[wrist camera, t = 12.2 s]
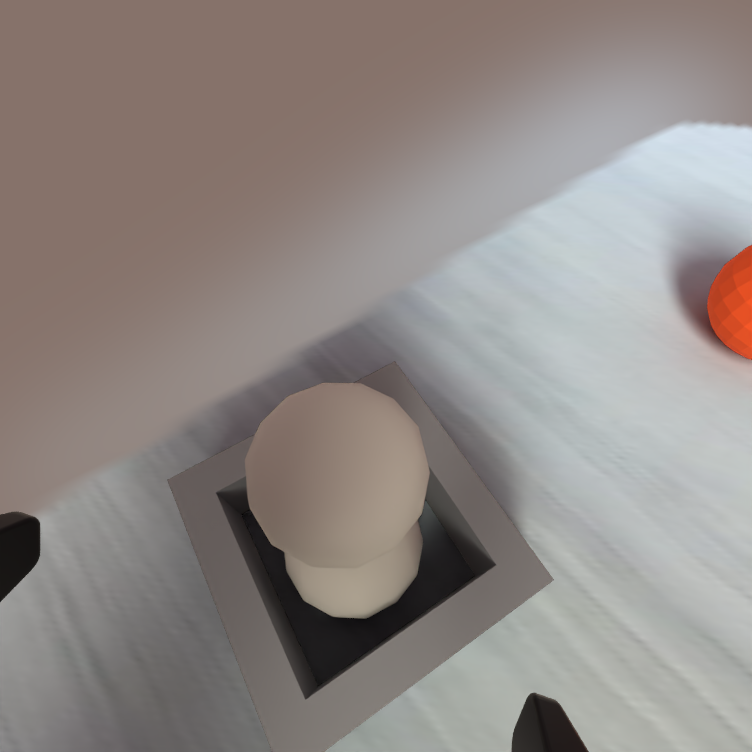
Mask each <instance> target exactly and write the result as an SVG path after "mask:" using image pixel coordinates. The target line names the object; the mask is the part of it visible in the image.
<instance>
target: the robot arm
mask: <svg viewBox="0 0 752 752" xmlns="http://www.w3.org/2000/svg"><path fill="white" fill-rule="evenodd" d="M39 557H40V522H39V520H38V519H37V518H36V517H33V516H30V515H27V514H25V513H22V512H10V513H6V514H1V515H0V602H1V601H2V600H3V599H4V598H5V597H6V596H7V595H8V594H9V593H10V592H11V590H12V589H13V588H14V587H15V586H16V585H17V584H18V583H19V582H20V581H21V580H22V579H23V578H24V577H25V576H26V575H27V574H28V573H29V572H30V571H31V570H32V569H33V568H34V566H35V565H36V563H37V562H38V560H39ZM512 752H589V751H588V750H587V748H586V746H585V745H584V743H583V741H582V740H581V738H580V736H579V735H578V733H577V731H576V730H575V728H574V727H573V725H572V723H571V722H570V720H569V718H568V717H567V715H566V713H565V712H564V710H563V708H562V707H561V705H560V704H559V703H558V702H557V701H556V700H554V699H551V698H548V697H545V696H543V695H540V694H537V693H531V694H530V695H529V696H528V697H527V699H526V702H525V704H524V707H523V709H522V711H521V714H520V716H519V719H518V721H517V723H516V726H515V729H514V732H513V738H512Z"/></svg>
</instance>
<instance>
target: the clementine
mask: <svg viewBox="0 0 752 752" xmlns="http://www.w3.org/2000/svg"><path fill="white" fill-rule="evenodd" d="M707 310H708V315H709V319H710V323H711V326H712V328H713V330H714V332H715V333H716V335H717V336H718V337H719V339H720V340H721V341H722V342H723V343H724V344H725V345H726V346H728V347H729V348H730V349H732V350H733V351H734V352H736V353H738V354H740V355H742V356H744V357H746V358H748V359H751V360H752V245H751V246H748V247H747V248H745V249H744V250H743V251H742V252H740V253H739V254H738V255H736V256H735V257H734V258H733V259H731V260H730V261H729V262H728V263H726V264H725V265H724V267H723V268H722V269H721V271H720V272H719V274H718V275H717V276H716V278H715V280H714V282H713V284H712V286H711V289H710V292H709V296H708V304H707Z"/></svg>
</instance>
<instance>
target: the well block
mask: <svg viewBox="0 0 752 752" xmlns="http://www.w3.org/2000/svg"><path fill="white" fill-rule="evenodd" d="M354 383H361V384H363V385H365V386H367V387H370V388H372V389H374V390H376V391H378V392H380V393H382V394H384V395H387V396H389V397H391V398H393V399H394V400H395V401H396V402H397V403H398V404H399V405H400V406H401V408H402V409H403V410H404V411H405V412H406V413H407V414H408V415H409V417H410V418H411V419H412V420H413V421H414V422H415V423H416V424H417V426H418V427H419V431H420V435H421V439H422V443H423V446H424V450H425V454H426V458H427V462H428V467H429V471H430V474H429V480H428V485H427V490H426V496H425V499H426V501H427V502H428V504H429V506H430V507H431V509H432V510H433V512H434V513H435V515H436V516H437V518H438V519H439V521H440V522H441V524H442V525H443V527H444V528H445V530H446V532H447V533H448V535H449V536H450V538H451V539H452V541H453V542H454V544H455V545H456V547H457V548H458V550H459V551H460V553H461V555H462V556H463V558H464V559H465V561H466V562H467V564H468V565H469V567H470V568H471V570H472V571H473V573H474V574H475V577H474V578H472V579H471V580H469V581H468V582H466V583H465V584H464V585H462V586H461V587H459V588H458V589H456V590H455V591H454V592H452V593H451V594H449V595H448V596H446V597H445V598H444V599H442V600H441V601H439V602H438V603H437V604H435V605H434V606H432V607H431V608H429V609H428V610H427V611H425V612H424V613H422V614H421V615H419V616H418V617H417V618H415V619H414V620H412V621H411V622H409V623H408V624H407V625H405V626H404V627H402V628H401V629H400V630H398V631H397V632H395V633H394V634H392V635H391V636H390V637H388V638H387V639H385V640H384V641H382V642H381V643H380V644H378V645H377V646H375V647H374V648H372V649H371V650H370V651H368V652H367V653H365V654H364V655H363V656H361V657H360V658H358V659H357V660H355V661H354V662H353V663H351V664H350V665H348V666H347V667H345V668H344V669H343V670H341V671H340V672H338V673H337V674H335V675H334V676H333V677H331V678H330V679H328V680H327V681H326V682H324V683H323V684H321V685H320V686H318V685H317V683H316V680H315V678H314V676H313V674H312V671H311V669H310V667H309V665H308V663H307V660H306V658H305V656H304V654H303V651H302V649H301V647H300V645H299V643H298V640H297V638H296V636H295V634H294V631H293V629H292V627H291V625H290V622H289V620H288V618H287V616H286V614H285V611H284V609H283V607H282V605H281V602H280V600H279V598H278V596H277V594H276V591H275V589H274V587H273V585H272V582H271V580H270V578H269V576H268V573H267V571H266V569H265V567H264V565H263V562H262V560H261V558H260V556H259V553H258V551H257V549H256V547H255V545H254V542H253V540H252V538H251V536H250V533H249V531H248V529H247V527H246V524H245V522H244V520H243V518H242V516H241V514H243V513H245V512H246V511H248V510H250V507H249V502H248V495H247V482H246V469H245V458H246V455H247V453H248V451H249V448H250V446H251V443H252V441H253V439H254V436H255V435H253V436H251V437H249V438H247V439H245V440H243V441H241V442H239V443H237V444H235V445H234V446H232V447H230V448H228V449H226V450H224V451H222V452H220V453H218V454H216V455H214V456H212V457H210V458H209V459H207V460H205V461H203V462H201V463H199V464H197V465H195V466H193V467H191V468H189V469H187V470H186V471H184V472H182V473H180V474H178V475H176V476H174V477H172V478H170V479H168V483H169V486H170V488H171V491H172V493H173V496H174V498H175V501H176V504H177V506H178V509H179V511H180V514H181V517H182V519H183V522H184V524H185V527H186V530H187V532H188V535H189V537H190V540H191V543H192V545H193V548H194V550H195V553H196V556H197V558H198V561H199V563H200V566H201V569H202V571H203V574H204V576H205V579H206V581H207V584H208V587H209V589H210V592H211V594H212V597H213V600H214V602H215V605H216V607H217V610H218V613H219V615H220V618H221V620H222V623H223V626H224V628H225V631H226V633H227V636H228V639H229V641H230V644H231V646H232V649H233V652H234V654H235V657H236V659H237V662H238V665H239V667H240V670H241V672H242V675H243V677H244V680H245V683H246V685H247V688H248V690H249V693H250V696H251V698H252V701H253V703H254V706H255V709H256V711H257V714H258V716H259V719H260V722H261V724H262V727H263V729H264V732H265V735H266V737H267V740H268V742H269V745H270V748H271V750H272V752H324V751H326V750H327V749H328V748H330V747H331V746H332V745H334V744H335V743H336V742H338V741H339V740H340V739H342V738H343V737H344V736H346V735H347V734H348V733H350V732H351V731H352V730H354V729H355V728H356V727H358V726H359V725H360V724H362V723H363V722H364V721H366V720H367V719H368V718H370V717H371V716H372V715H374V714H375V713H376V712H378V711H379V710H380V709H382V708H383V707H384V706H386V705H387V704H388V703H390V702H391V701H392V700H394V699H395V698H396V697H398V696H399V695H401V694H402V693H403V692H405V691H406V690H407V689H409V688H410V687H411V686H413V685H414V684H415V683H417V682H418V681H419V680H421V679H422V678H423V677H425V676H426V675H427V674H429V673H430V672H431V671H433V670H434V669H435V668H437V667H438V666H439V665H441V664H442V663H443V662H445V661H446V660H447V659H449V658H450V657H451V656H453V655H454V654H455V653H457V652H458V651H459V650H461V649H462V648H463V647H465V646H466V645H467V644H469V643H470V642H471V641H473V640H474V639H475V638H477V637H478V636H480V635H481V634H482V633H484V632H485V631H486V630H488V629H489V628H490V627H492V626H493V625H494V624H496V623H497V622H498V621H500V620H501V619H502V618H504V617H505V616H506V615H508V614H509V613H510V612H512V611H513V610H514V609H516V608H517V607H518V606H520V605H521V604H522V603H524V602H525V601H526V600H528V599H529V598H530V597H532V596H533V595H534V594H536V593H537V592H538V591H540V590H541V589H542V588H544V587H545V586H546V585H548V584H549V583H550V582H552V581H553V580H554V579H553V578H552V577H551V575H550V574H549V572H548V571H547V570H546V568H545V567H544V566H543V564H542V563H541V561H540V560H539V559H538V557H537V556H536V555H535V553H534V552H533V550H532V549H531V548H530V546H529V545H528V544H527V542H526V541H525V539H524V538H523V537H522V535H521V534H520V533H519V531H518V530H517V528H516V527H515V526H514V524H513V523H512V522H511V520H510V519H509V517H508V516H507V515H506V513H505V512H504V511H503V509H502V508H501V506H500V505H499V504H498V502H497V501H496V500H495V498H494V497H493V495H492V494H491V493H490V491H489V490H488V489H487V487H486V486H485V484H484V483H483V482H482V480H481V479H480V478H479V476H478V475H477V473H476V472H475V471H474V469H473V468H472V467H471V465H470V464H469V462H468V461H467V460H466V458H465V457H464V456H463V454H462V453H461V451H460V450H459V449H458V447H457V446H456V445H455V443H454V442H453V440H452V439H451V438H450V436H449V435H448V434H447V432H446V431H445V429H444V428H443V427H442V425H441V424H440V423H439V421H438V420H437V418H436V417H435V416H434V414H433V413H432V412H431V410H430V409H429V407H428V406H427V405H426V403H425V402H424V401H423V399H422V398H421V396H420V395H419V394H418V392H417V391H416V390H415V388H414V387H413V385H412V384H411V383H410V381H409V380H408V379H407V377H406V376H405V374H404V373H403V372H402V370H401V369H400V368H399V366H398V365H397V363H396V362H393V363H391V364H389V365H387V366H385V367H383V368H381V369H379V370H377V371H375V372H374V373H372V374H370V375H368V376H366V377H364V378H362V379H360V380H358V381H356V382H354Z"/></svg>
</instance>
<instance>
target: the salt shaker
mask: <svg viewBox="0 0 752 752" xmlns="http://www.w3.org/2000/svg"><path fill="white" fill-rule="evenodd" d="M245 469H246V482H247V495H248V502H249V507H250V510H251V511H252V513H253V515H254V516H255V518H256V520H257V521H258V523H259V525H260V526H261V528H262V530H263V531H264V533H265V535H266V536H267V538H268V540H269V541H270V543H271V545H273V546H275V547H276V548H278V549H280V550H282V551H284V555H285V564H286V571H287V573H288V575H289V577H290V578H291V580H292V582H293V583H294V585H295V587H296V589H297V590H298V592H299V594H300V595H301V597H302V599H303V600H304V601H305V602H307V603H309V604H311V605H312V606H314V607H316V608H318V609H320V610H321V611H323V612H325V613H327V614H329V615H330V616H332V617H346V618H365V619H367V618H368V617H370V616H372V615H374V614H376V613H378V612H380V611H381V610H383V609H385V608H387V607H389V606H391V605H392V604H394V603H396V602H397V601H398V600H399V599H400V597H401V596H402V595H403V593H404V592H405V591H406V589H407V588H408V587H409V585H410V584H411V583H412V581H413V580H414V579H415V577H416V576H417V574H418V568H419V562H420V557H421V551H422V546H423V539H422V534H421V530H420V526H419V521H418V518H419V517H420V516H421V514H422V512H423V506H424V501H425V496H426V490H427V485H428V480H429V474H430V471H429V467H428V462H427V458H426V454H425V450H424V446H423V443H422V439H421V435H420V431H419V427H418V426H417V424H416V423H415V422H414V421H413V420H412V419H411V418H410V417H409V415H408V414H407V413H406V412H405V411H404V410H403V409H402V408H401V406H400V405H399V404H398V403H397V402H396V401H395V400H394V399H393V398H391V397H389V396H387V395H384V394H382V393H380V392H378V391H376V390H374V389H372V388H370V387H367V386H365V385H363V384H361V383H321V384H319V385H316V386H313V387H311V388H308V389H305V390H303V391H300V392H297V393H295V394H292V395H289V396H287V397H286V398H285V399H284V400H283V401H282V402H281V403H280V404H279V405H278V406H277V407H276V408H275V409H274V410H273V411H272V412H271V413H270V414H269V415H268V416H267V417H266V418H265V419H264V420H263V421H262V422H261V423H260V425H259V427H258V429H257V432H256V434H255V436H254V439H253V441H252V443H251V446H250V448H249V451H248V453H247V455H246V458H245Z"/></svg>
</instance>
